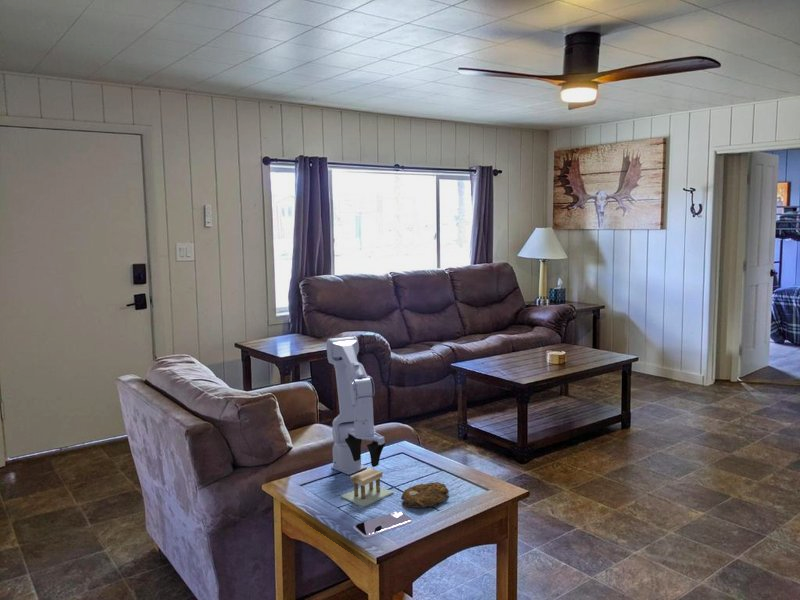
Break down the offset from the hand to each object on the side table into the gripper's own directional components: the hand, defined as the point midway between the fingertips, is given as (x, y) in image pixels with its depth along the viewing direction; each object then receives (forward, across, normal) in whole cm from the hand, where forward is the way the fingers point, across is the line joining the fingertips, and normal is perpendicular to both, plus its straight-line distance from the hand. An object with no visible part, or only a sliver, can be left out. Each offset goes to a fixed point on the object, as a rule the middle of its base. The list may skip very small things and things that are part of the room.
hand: (366, 463), depth 183 cm
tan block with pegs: (+9, 0, 0) cm, 9 cm away
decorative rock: (+10, -16, -8) cm, 21 cm away
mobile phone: (+10, -16, +11) cm, 22 cm away
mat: (+10, 0, 0) cm, 10 cm away
